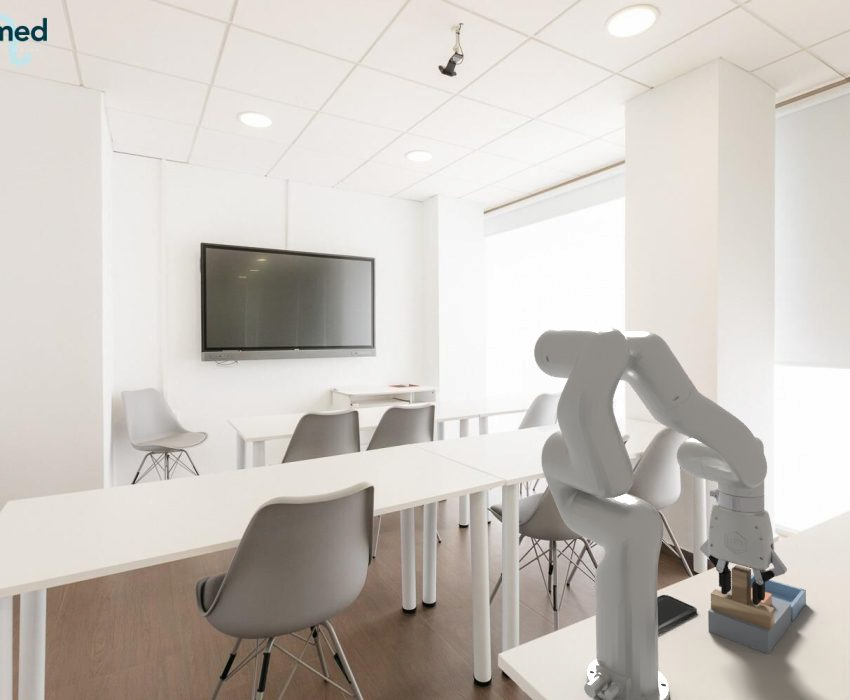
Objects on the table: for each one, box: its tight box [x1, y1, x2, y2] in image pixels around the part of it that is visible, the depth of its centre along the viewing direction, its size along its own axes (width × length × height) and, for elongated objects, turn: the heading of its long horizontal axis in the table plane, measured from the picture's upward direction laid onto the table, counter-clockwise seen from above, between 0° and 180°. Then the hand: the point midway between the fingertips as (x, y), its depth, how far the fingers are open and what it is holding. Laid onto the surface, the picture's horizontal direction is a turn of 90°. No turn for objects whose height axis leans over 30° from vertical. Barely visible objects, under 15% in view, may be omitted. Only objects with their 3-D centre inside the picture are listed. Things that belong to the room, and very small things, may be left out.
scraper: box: [710, 564, 775, 629], centre depth 98 cm, size 2×10×9 cm, turn 41°
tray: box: [751, 574, 807, 623], centre depth 109 cm, size 10×10×3 cm
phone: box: [657, 594, 698, 635], centre depth 106 cm, size 8×1×15 cm
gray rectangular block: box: [707, 588, 792, 655], centre depth 101 cm, size 14×10×4 cm
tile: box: [751, 588, 772, 607], centre depth 102 cm, size 5×5×2 cm
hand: (741, 595), depth 98 cm, fingers open, 4 cm apart
